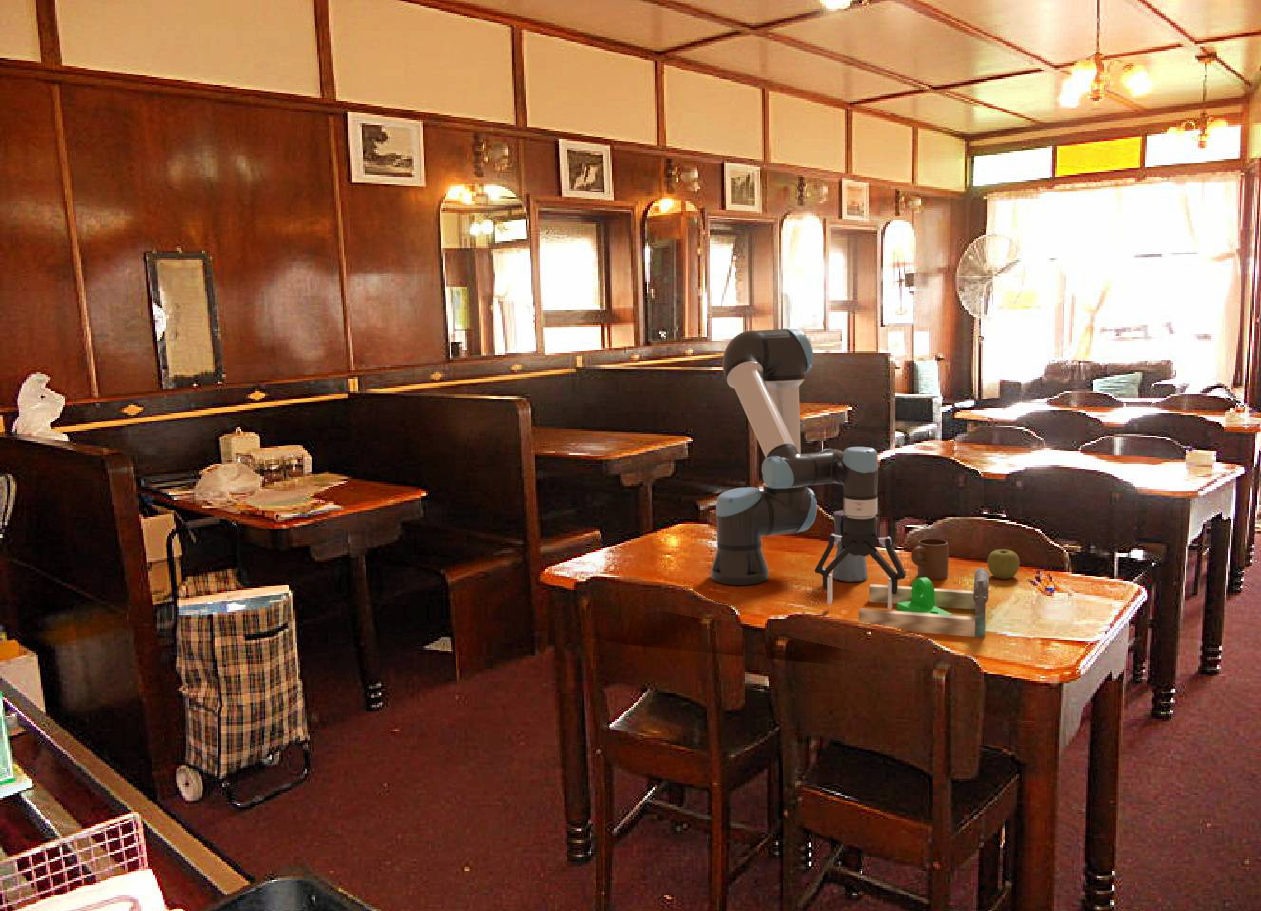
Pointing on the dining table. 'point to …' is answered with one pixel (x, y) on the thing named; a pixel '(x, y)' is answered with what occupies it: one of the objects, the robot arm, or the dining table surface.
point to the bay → (941, 599)
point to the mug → (931, 558)
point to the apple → (1003, 563)
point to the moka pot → (848, 558)
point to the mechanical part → (921, 599)
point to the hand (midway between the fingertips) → (859, 604)
